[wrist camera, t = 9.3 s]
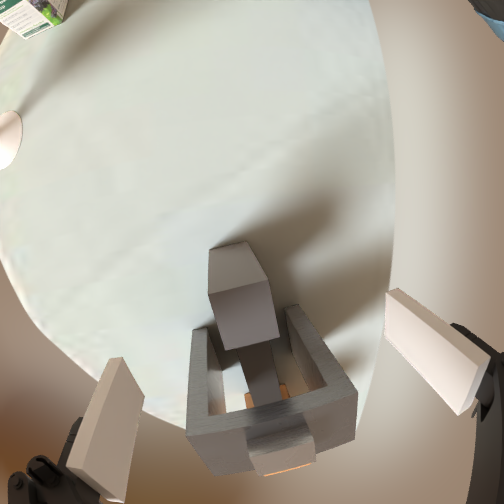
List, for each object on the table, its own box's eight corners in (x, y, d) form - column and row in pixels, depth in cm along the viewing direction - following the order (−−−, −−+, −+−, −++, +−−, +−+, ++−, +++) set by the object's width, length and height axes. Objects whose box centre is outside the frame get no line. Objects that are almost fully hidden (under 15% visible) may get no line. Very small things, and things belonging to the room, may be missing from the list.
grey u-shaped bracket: (192, 330, 27) (185, 454, 12) (298, 304, 28) (368, 407, 13) (209, 373, 28) (215, 491, 14) (305, 349, 29) (361, 452, 15)
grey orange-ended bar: (200, 252, 25) (194, 297, 15) (254, 239, 25) (281, 276, 16) (253, 420, 31) (266, 481, 22) (290, 411, 32) (311, 469, 22)
